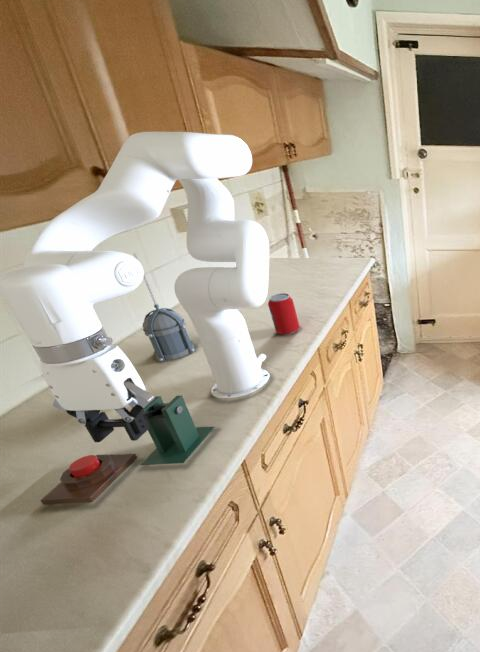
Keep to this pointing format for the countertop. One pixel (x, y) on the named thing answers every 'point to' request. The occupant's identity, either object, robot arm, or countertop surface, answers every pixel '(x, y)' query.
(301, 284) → the countertop surface
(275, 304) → the beverage can
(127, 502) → the countertop surface
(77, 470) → the red button
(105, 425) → the switch lever
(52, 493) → the control block
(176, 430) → the switch bracket
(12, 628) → the countertop surface
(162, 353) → the lantern
